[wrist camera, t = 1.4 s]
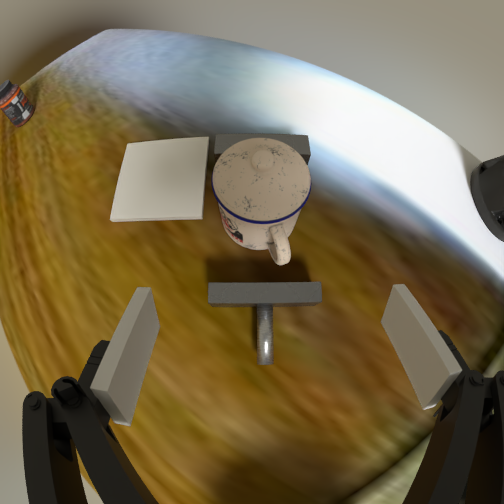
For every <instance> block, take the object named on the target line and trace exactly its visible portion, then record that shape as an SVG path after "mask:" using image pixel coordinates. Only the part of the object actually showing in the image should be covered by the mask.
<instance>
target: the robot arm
mask: <svg viewBox="0 0 504 504" xmlns="http://www.w3.org/2000/svg"><path fill="white" fill-rule="evenodd" d="M471 190H472V194H473V198H474V201H475V204H476V207H477V209H478V211H479V213H480V215H481V217H482V219H483V221H484V222H485V224H486V226H487V227H488V228H489V230H490V231H491V232H492V233H493V234H494V235H495V236H496V237H497V238H498V239H499V240H501V241H503V242H504V155H503V156H500V157H497V158H494V159H491V160H488V161H485V162H483V163H481V164H480V165H479V166H478V167H476V168H475V169H474V171H473V172H472V175H471ZM381 323H382V325H383V327H384V329H385V331H386V333H387V335H388V337H389V339H390V341H391V343H392V344H393V346H394V348H395V350H396V352H397V354H398V356H399V359H400V361H401V363H402V365H403V367H404V369H405V371H406V373H407V375H408V377H409V379H410V382H411V384H412V386H413V388H414V390H415V393H416V395H417V397H418V399H419V402H420V404H421V406H422V408H423V410H424V409H428V408H431V407H434V406H435V405H436V404H437V403H438V402H439V401H440V399H441V400H442V402H443V404H442V405H441V406H440V408H439V409H438V410H437V411H436V412H435V414H434V415H433V417H435V416H436V415H437V414H438V413H439V414H438V417H437V420H436V424H435V427H434V430H433V433H432V436H431V439H430V442H429V444H428V447H427V450H426V453H425V455H424V458H423V460H422V463H421V465H420V467H419V470H418V472H417V474H416V477H415V479H414V481H413V483H412V485H411V488H410V490H409V492H408V494H407V496H406V498H405V500H404V502H403V503H402V504H459V502H460V499H461V496H462V493H463V490H464V488H465V485H466V482H467V478H468V486H467V494H466V500H465V504H504V371H503V370H502V371H499V372H497V373H496V375H495V376H494V377H493V378H484V377H483V375H482V374H481V373H479V372H478V371H475V370H470V369H469V367H468V366H467V364H466V363H465V361H464V359H463V358H462V356H461V355H460V353H459V351H458V350H457V348H456V347H455V345H453V342H452V341H451V339H450V338H449V336H448V335H446V334H445V333H444V332H443V331H442V330H440V331H437V329H436V328H435V326H434V325H433V323H432V322H431V320H430V319H429V318H428V316H427V315H426V313H425V312H424V310H423V309H422V308H421V306H420V305H419V303H418V302H417V301H416V299H415V298H414V297H413V295H412V294H411V293H410V291H409V290H408V289H407V287H406V286H405V285H404V284H399V285H393V287H392V291H391V294H390V297H389V300H388V303H387V306H386V309H385V312H384V315H383V317H382V320H381ZM159 328H160V325H159V321H158V317H157V313H156V309H155V304H154V300H153V296H152V291H151V288H149V287H137V289H136V291H135V293H134V295H133V297H132V299H131V300H130V302H129V304H128V306H127V308H126V310H125V312H124V314H123V316H122V318H121V320H120V322H119V324H118V326H117V329H116V331H115V333H114V335H113V337H112V339H111V341H105V340H101V341H100V342H99V343H98V344H97V345H96V346H95V347H94V348H93V351H92V353H91V355H90V357H89V359H88V361H87V364H86V365H85V367H84V369H83V371H82V374H81V376H80V378H79V380H78V382H77V380H76V379H74V378H73V377H68V376H66V377H61V378H60V379H58V380H57V381H56V382H55V383H54V384H53V386H52V389H51V394H52V396H53V397H54V398H46V397H45V396H44V394H43V393H41V392H39V391H34V392H31V393H29V394H28V395H27V396H26V398H25V399H24V402H23V419H22V421H23V422H22V423H23V425H22V426H23V427H22V429H23V430H22V431H23V432H22V434H23V457H24V469H25V479H26V486H27V493H28V499H29V504H88V503H87V499H86V495H85V491H84V487H83V483H82V479H81V474H80V469H79V464H78V459H77V453H76V449H77V451H78V453H79V456H80V458H81V460H82V462H83V464H84V467H85V469H86V471H87V473H88V475H89V477H90V479H91V481H92V483H93V485H94V487H95V489H96V490H97V492H98V494H99V496H100V498H101V499H102V501H103V503H104V504H159V503H158V502H157V501H156V499H155V498H154V497H153V495H152V494H151V493H150V491H149V490H148V488H147V487H146V485H145V484H144V483H143V481H142V480H141V478H140V477H139V475H138V474H137V472H136V470H135V469H134V467H133V466H132V464H131V462H130V461H129V459H128V457H127V456H126V454H125V452H124V451H123V449H122V447H121V445H120V444H119V442H118V440H117V438H116V436H115V435H114V433H113V431H112V429H111V427H110V425H109V424H108V423H109V420H110V417H111V418H112V420H113V421H114V422H115V423H117V424H122V425H127V426H131V422H132V418H133V415H134V411H135V407H136V404H137V400H138V396H139V393H140V389H141V386H142V382H143V379H144V376H145V372H146V369H147V366H148V363H149V359H150V356H151V353H152V350H153V347H154V343H155V340H156V337H157V334H158V331H159ZM493 409H494V414H492V410H493ZM75 446H76V447H75ZM468 475H469V476H468Z"/></svg>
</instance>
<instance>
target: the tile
mask: <svg viewBox="0 0 504 504" xmlns="http://www.w3.org/2000/svg"><path fill="white" fill-rule="evenodd" d="M208 148H209V137H194V138H179V139H166V140H156V141H146V142H138V143H130V144H128V145H127V148H126V152H125V155H124V159H123V163H122V167H121V171H120V175H119V179H118V183H117V187H116V192H115V196H114V201H113V206H112V211H111V217H110V220H111V221H112V222H123V221H149V220H186V219H203V208H204V194H205V181H206V170H207V159H208Z"/></svg>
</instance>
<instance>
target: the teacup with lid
mask: <svg viewBox="0 0 504 504" xmlns="http://www.w3.org/2000/svg"><path fill="white" fill-rule="evenodd" d="M212 189H213V192H214V195H215V197H216V199H217V201H218V204H219V209H220V213H221V218H222V223H223V226H224V228H225V230H226V232H227V234H228V235H229V236H230V237H231V238H232V239H233V240H234V241H235V242H236V243H238V244H239V245H241V246H243V247H246V248H249V249H255V250H264V249H269V251H270V254H271V256H272V258H273V260H274V261H275V263H276V264H278V265H284V264H287V263H288V262H289V261H290V258H291V251H290V246H289V242H288V238H287V237H288V236H289V235H290V234H291V232H292V230H293V228H294V225H295V223H296V220H297V218H298V215H299V213H300V210H301V208H302V207H303V206H304V204H305V203H306V201H307V199H308V197H309V194H310V190H311V176H310V172H309V169H308V166H307V164H306V162H305V161H304V159H303V158H302V157H301V155H300V154H299V153H298V152H297V151H296V150H294V149H293V148H292V147H290V146H289V145H287V144H285V143H283V142H280V141H278V140H274V139H269V138H251V139H247V140H243V141H240V142H238V143H236V144H234V145H232V146H231V147H229V148H228V149H227V150H226V151H225V152H224V153H223V154H222V155H221V156H220V157H219V159H218V160H217V162H216V164H215V167H214V169H213V173H212Z"/></svg>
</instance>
